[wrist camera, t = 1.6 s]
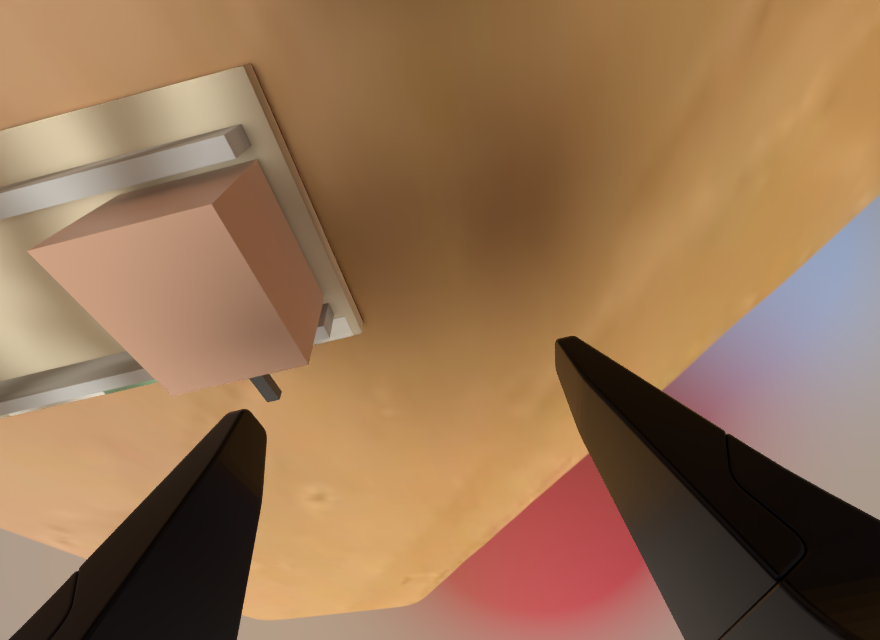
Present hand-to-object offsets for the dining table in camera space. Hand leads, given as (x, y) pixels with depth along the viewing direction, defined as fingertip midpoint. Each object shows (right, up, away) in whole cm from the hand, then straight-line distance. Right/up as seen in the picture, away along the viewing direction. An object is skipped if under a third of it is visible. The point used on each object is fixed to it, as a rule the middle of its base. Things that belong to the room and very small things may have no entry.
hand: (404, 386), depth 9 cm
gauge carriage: (-8, +4, +10) cm, 13 cm away
